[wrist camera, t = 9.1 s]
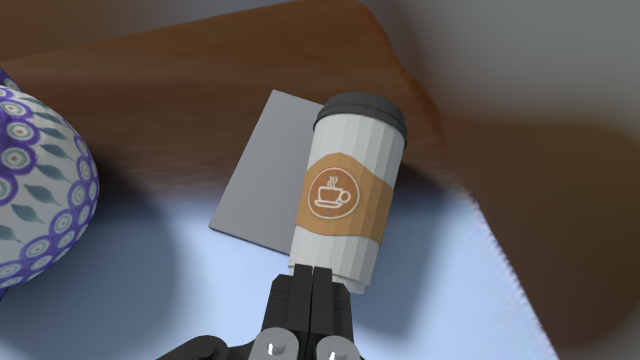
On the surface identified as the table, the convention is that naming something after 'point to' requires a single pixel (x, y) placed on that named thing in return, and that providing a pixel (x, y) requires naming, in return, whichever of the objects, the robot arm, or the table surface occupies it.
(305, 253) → the coffee cup
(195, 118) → the table surface
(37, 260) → the teapot
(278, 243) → the mat
